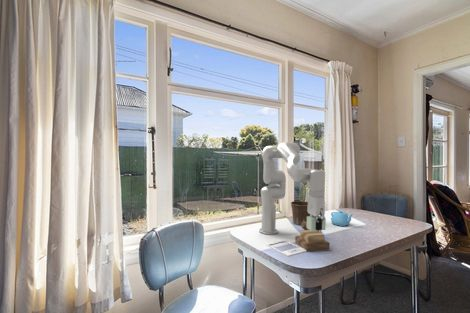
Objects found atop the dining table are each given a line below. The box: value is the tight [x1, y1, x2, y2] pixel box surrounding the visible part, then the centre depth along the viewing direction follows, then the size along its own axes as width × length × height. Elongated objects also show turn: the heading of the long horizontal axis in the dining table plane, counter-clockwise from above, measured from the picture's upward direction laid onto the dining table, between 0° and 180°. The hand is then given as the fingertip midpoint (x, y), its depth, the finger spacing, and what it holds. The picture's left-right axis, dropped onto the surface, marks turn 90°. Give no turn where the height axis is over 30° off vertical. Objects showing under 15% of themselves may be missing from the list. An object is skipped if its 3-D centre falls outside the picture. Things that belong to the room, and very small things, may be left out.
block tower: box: [294, 229, 330, 252], centre depth 145 cm, size 14×14×8 cm
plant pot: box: [290, 200, 310, 226], centre depth 193 cm, size 16×16×16 cm
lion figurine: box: [301, 222, 323, 234], centre depth 164 cm, size 15×5×9 cm, turn 70°
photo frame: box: [266, 240, 307, 257], centre depth 142 cm, size 15×1×18 cm
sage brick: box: [307, 216, 327, 231], centre depth 130 cm, size 5×8×6 cm, turn 102°
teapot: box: [330, 210, 354, 227], centre depth 191 cm, size 13×11×18 cm
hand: (315, 227), depth 130 cm, fingers closed on sage brick, 4 cm apart
